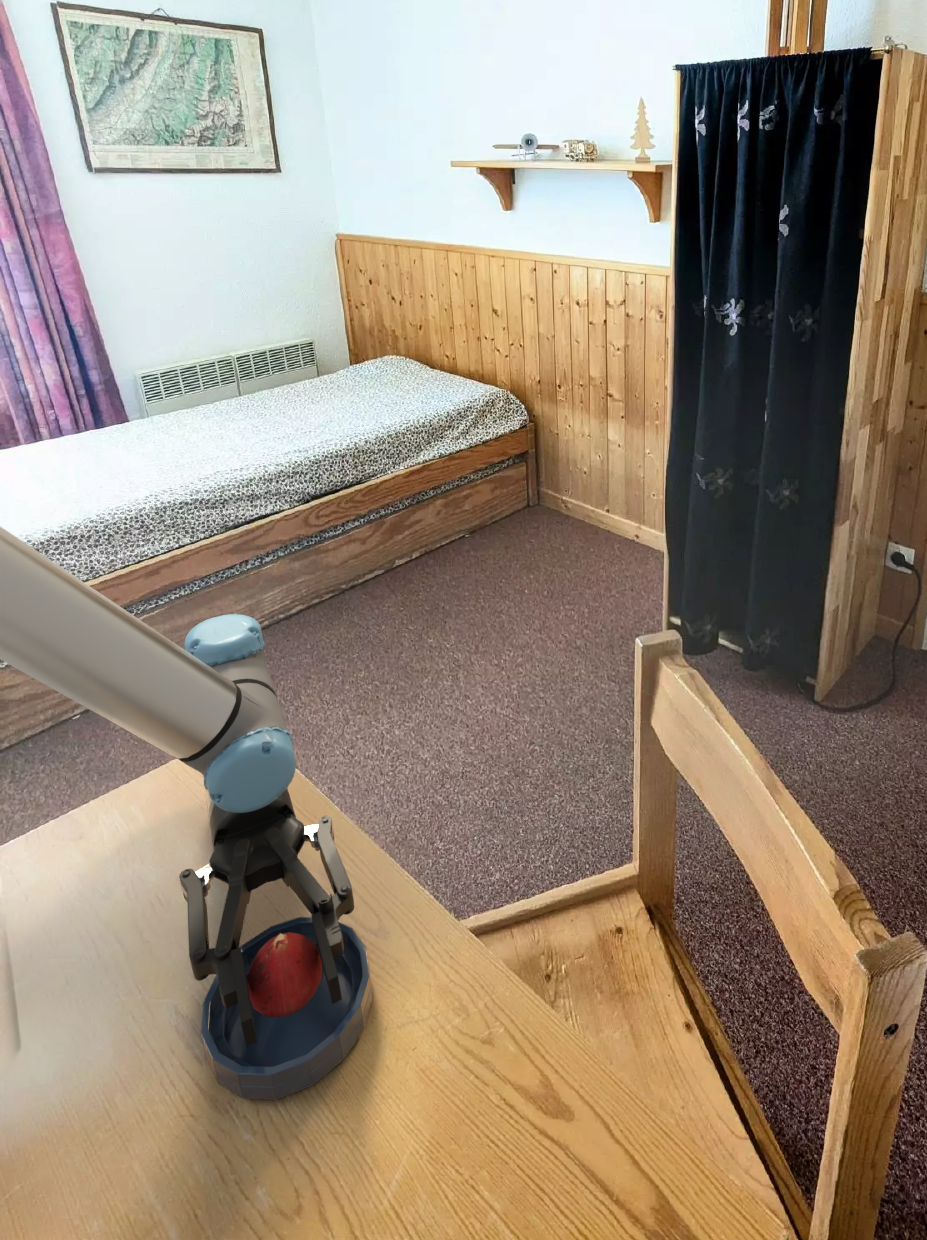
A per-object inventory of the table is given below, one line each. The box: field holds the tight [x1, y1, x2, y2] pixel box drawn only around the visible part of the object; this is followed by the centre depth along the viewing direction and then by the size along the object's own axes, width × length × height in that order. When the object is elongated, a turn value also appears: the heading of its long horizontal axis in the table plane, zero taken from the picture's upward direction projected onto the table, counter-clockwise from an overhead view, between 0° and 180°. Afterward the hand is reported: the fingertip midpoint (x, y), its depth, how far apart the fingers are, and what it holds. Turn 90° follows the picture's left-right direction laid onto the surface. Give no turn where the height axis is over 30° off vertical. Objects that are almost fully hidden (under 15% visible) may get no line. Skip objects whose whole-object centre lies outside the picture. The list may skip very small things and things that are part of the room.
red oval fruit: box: [247, 932, 322, 1017], centre depth 66 cm, size 6×6×8 cm
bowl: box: [200, 916, 374, 1100], centre depth 67 cm, size 13×13×4 cm
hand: (293, 1010), depth 61 cm, fingers closed on red oval fruit, 6 cm apart
